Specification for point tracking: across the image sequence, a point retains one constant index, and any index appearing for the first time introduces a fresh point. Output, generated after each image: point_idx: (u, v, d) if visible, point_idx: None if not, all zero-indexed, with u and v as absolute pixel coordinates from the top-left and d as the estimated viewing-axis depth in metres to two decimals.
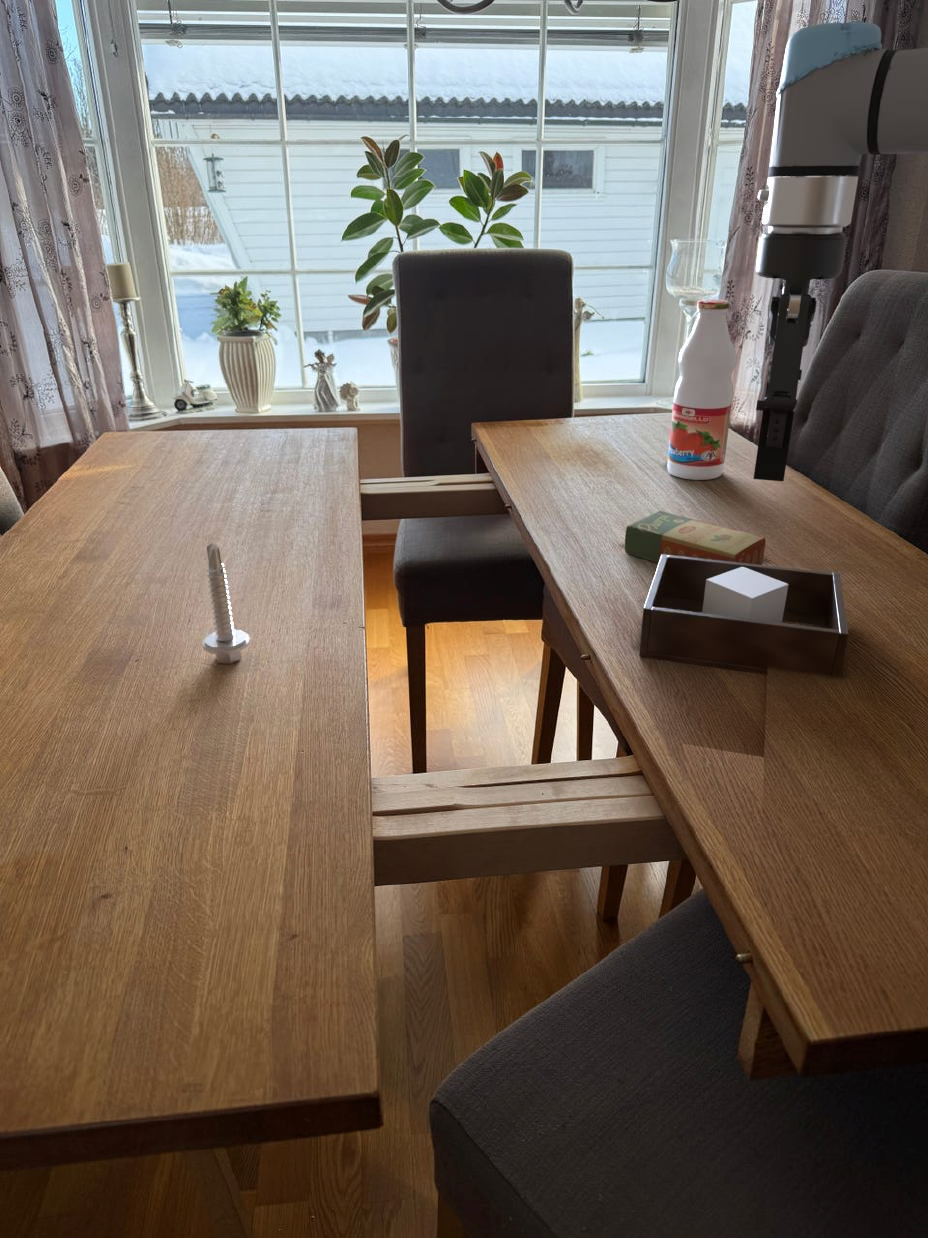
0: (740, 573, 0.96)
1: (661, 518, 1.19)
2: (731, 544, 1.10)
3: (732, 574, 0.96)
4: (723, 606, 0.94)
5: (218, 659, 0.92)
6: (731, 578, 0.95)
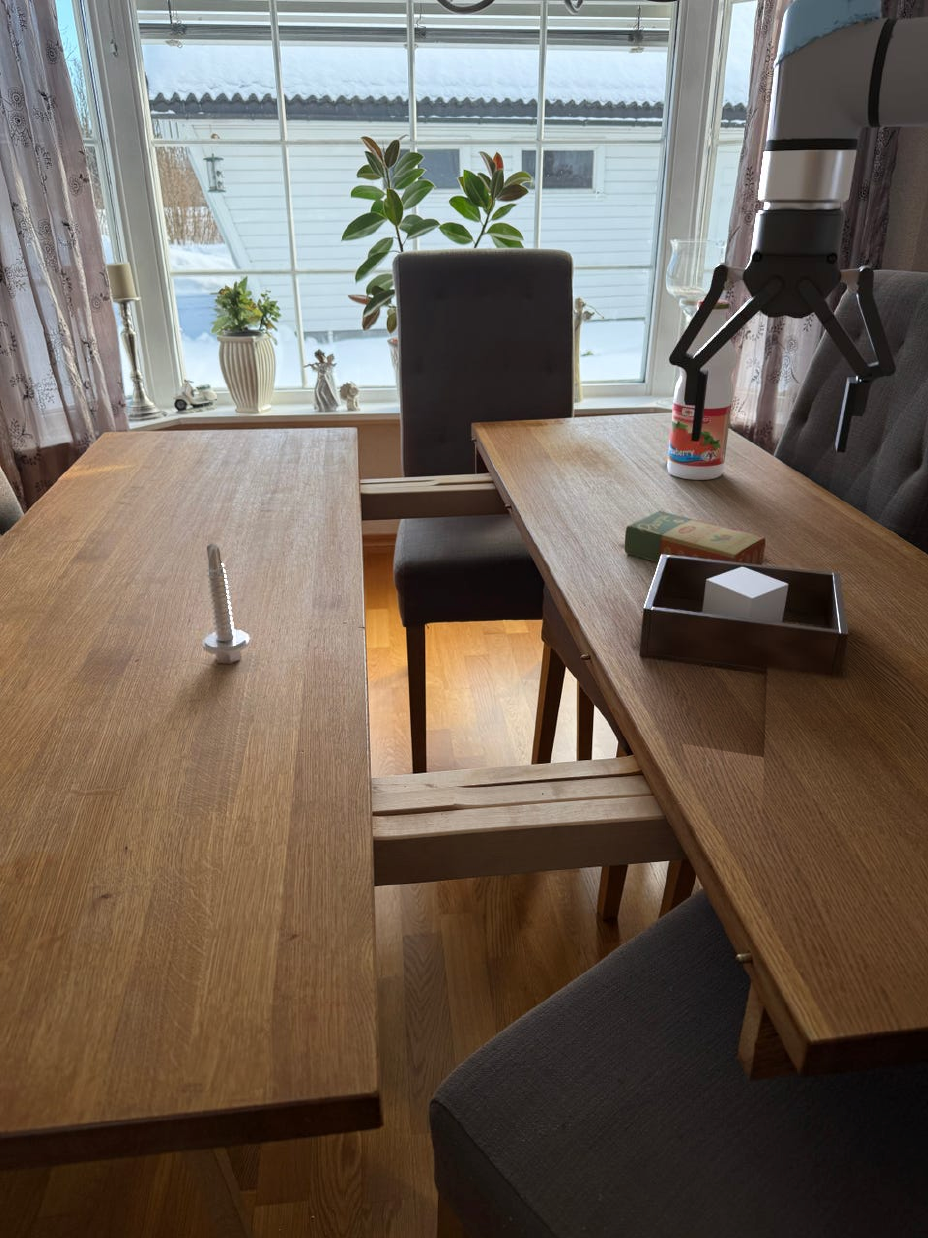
0: (740, 573, 0.96)
1: (661, 518, 1.19)
2: (731, 544, 1.10)
3: (732, 574, 0.96)
4: (723, 606, 0.94)
5: (218, 659, 0.92)
6: (731, 578, 0.95)
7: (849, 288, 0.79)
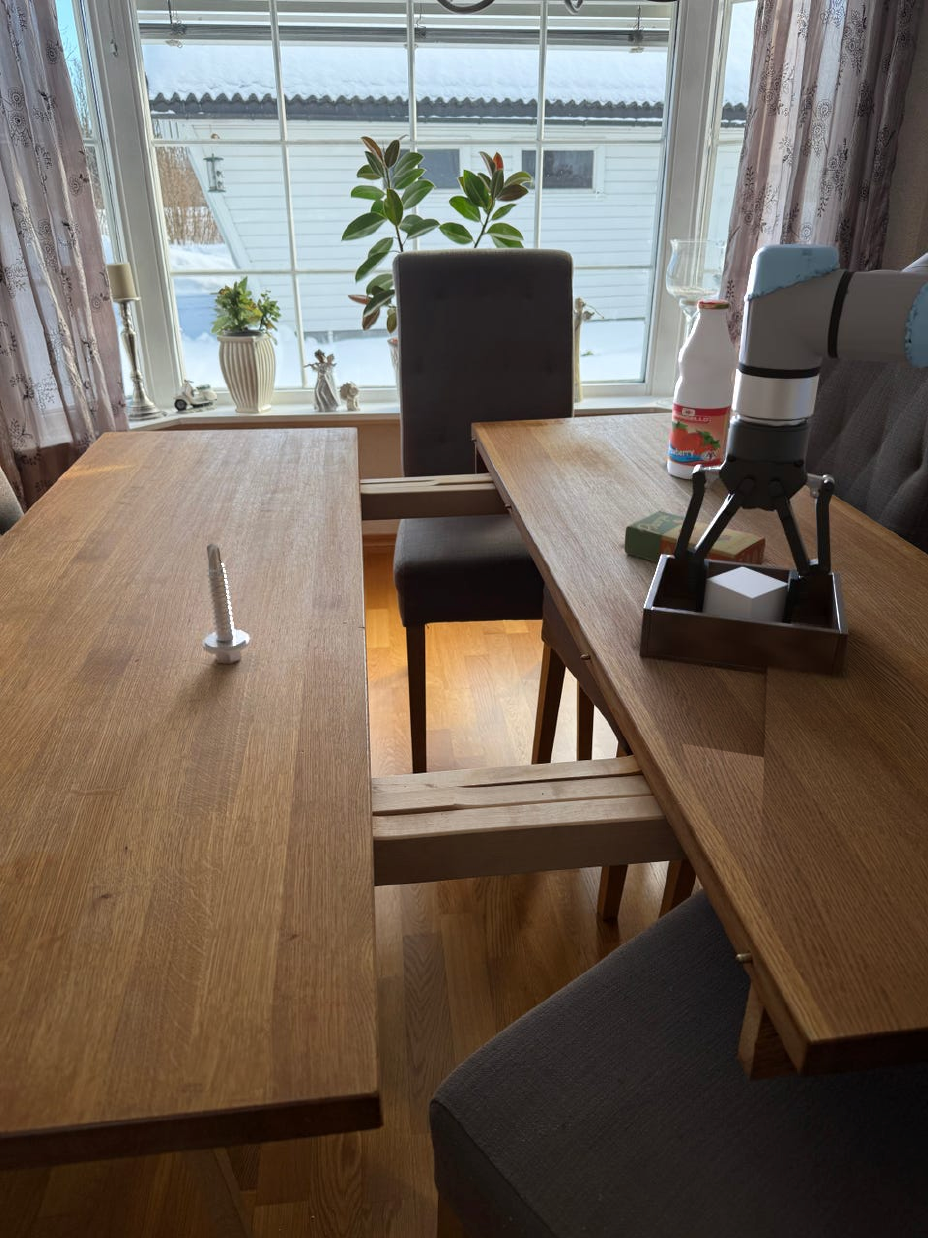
0: (741, 573, 0.96)
1: (661, 518, 1.19)
2: (731, 544, 1.10)
3: (732, 574, 0.96)
4: (723, 606, 0.94)
5: (218, 659, 0.92)
6: (731, 578, 0.95)
7: (811, 492, 0.88)
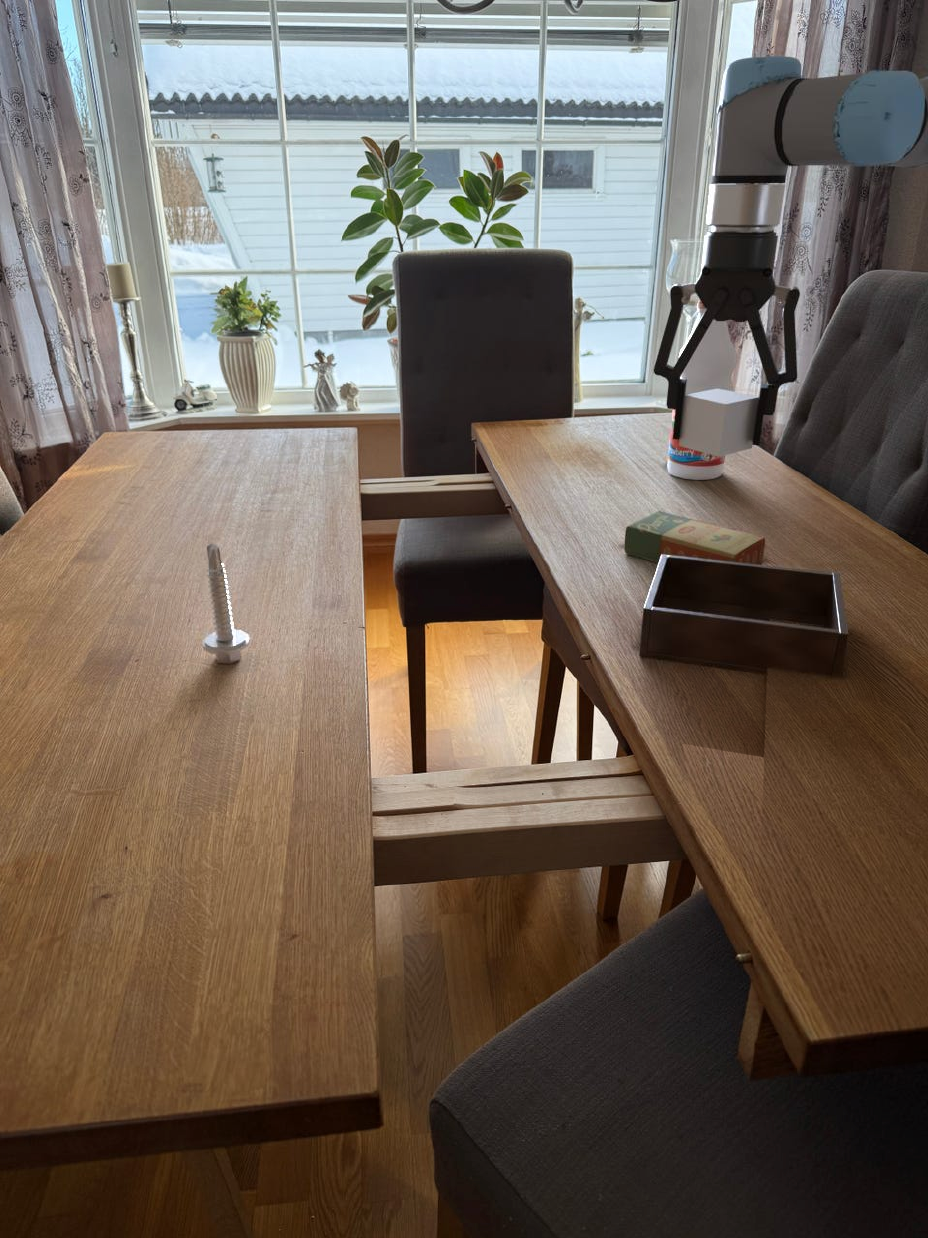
0: (716, 391, 1.04)
1: (661, 518, 1.19)
2: (731, 544, 1.10)
3: (708, 392, 1.04)
4: (699, 418, 1.02)
5: (218, 659, 0.92)
6: (706, 394, 1.03)
7: (778, 302, 0.96)
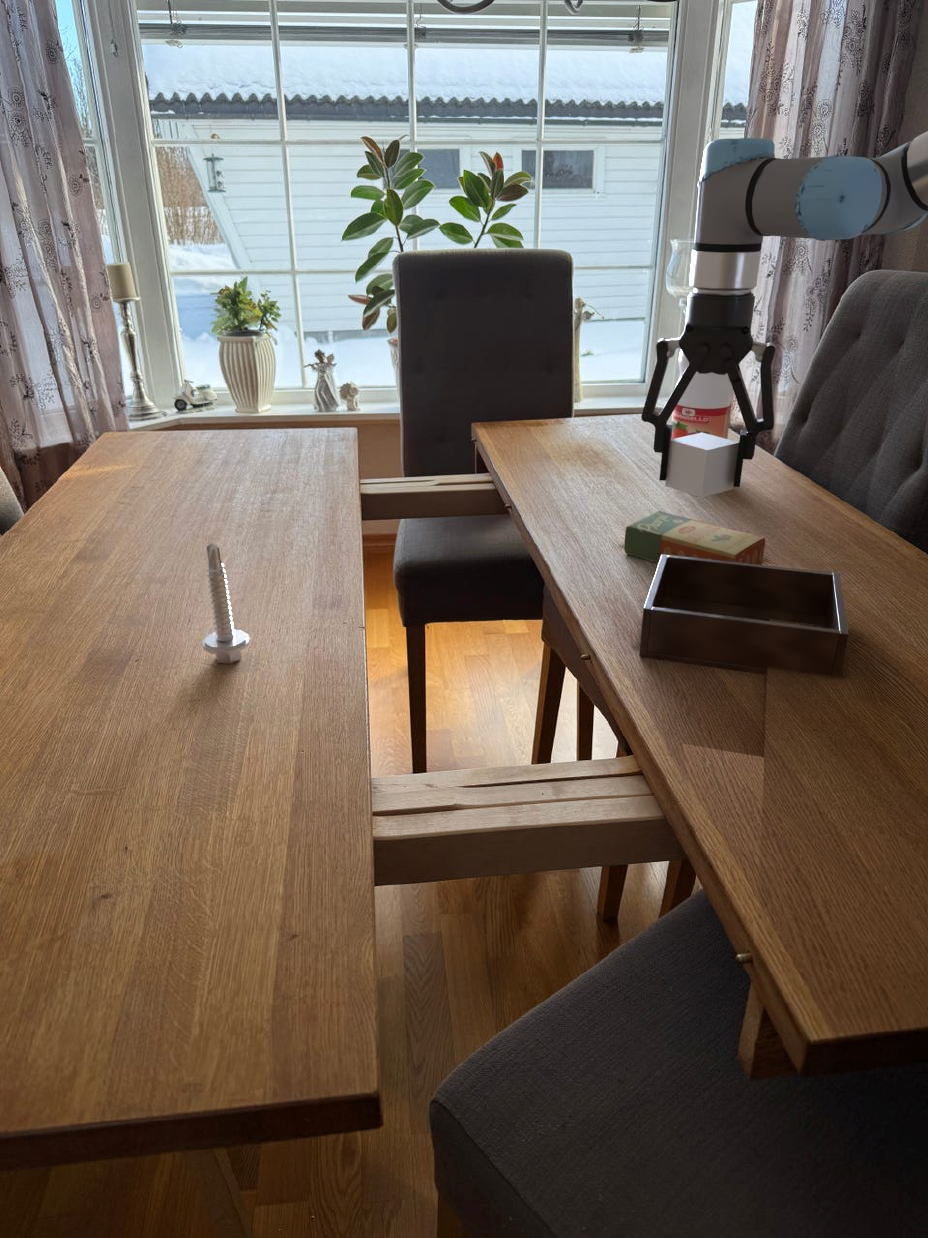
0: (699, 436, 1.12)
1: (661, 518, 1.19)
2: (731, 544, 1.10)
3: (692, 436, 1.11)
4: (683, 461, 1.09)
5: (218, 659, 0.92)
6: (691, 439, 1.10)
7: (756, 357, 1.03)
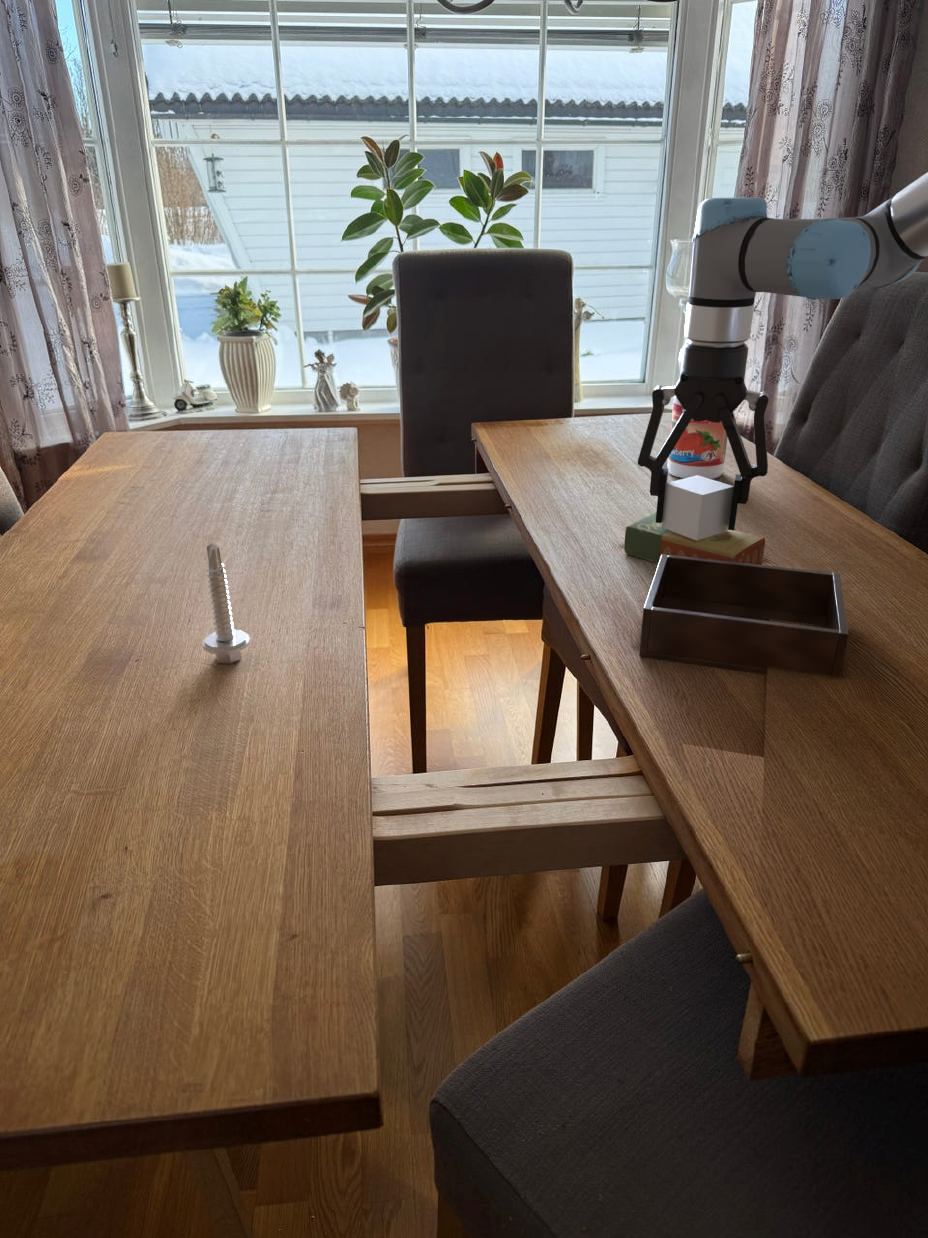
0: (695, 479, 1.14)
1: None
2: (731, 544, 1.10)
3: (688, 480, 1.14)
4: (679, 505, 1.12)
5: (218, 659, 0.92)
6: (686, 482, 1.13)
7: (749, 405, 1.06)
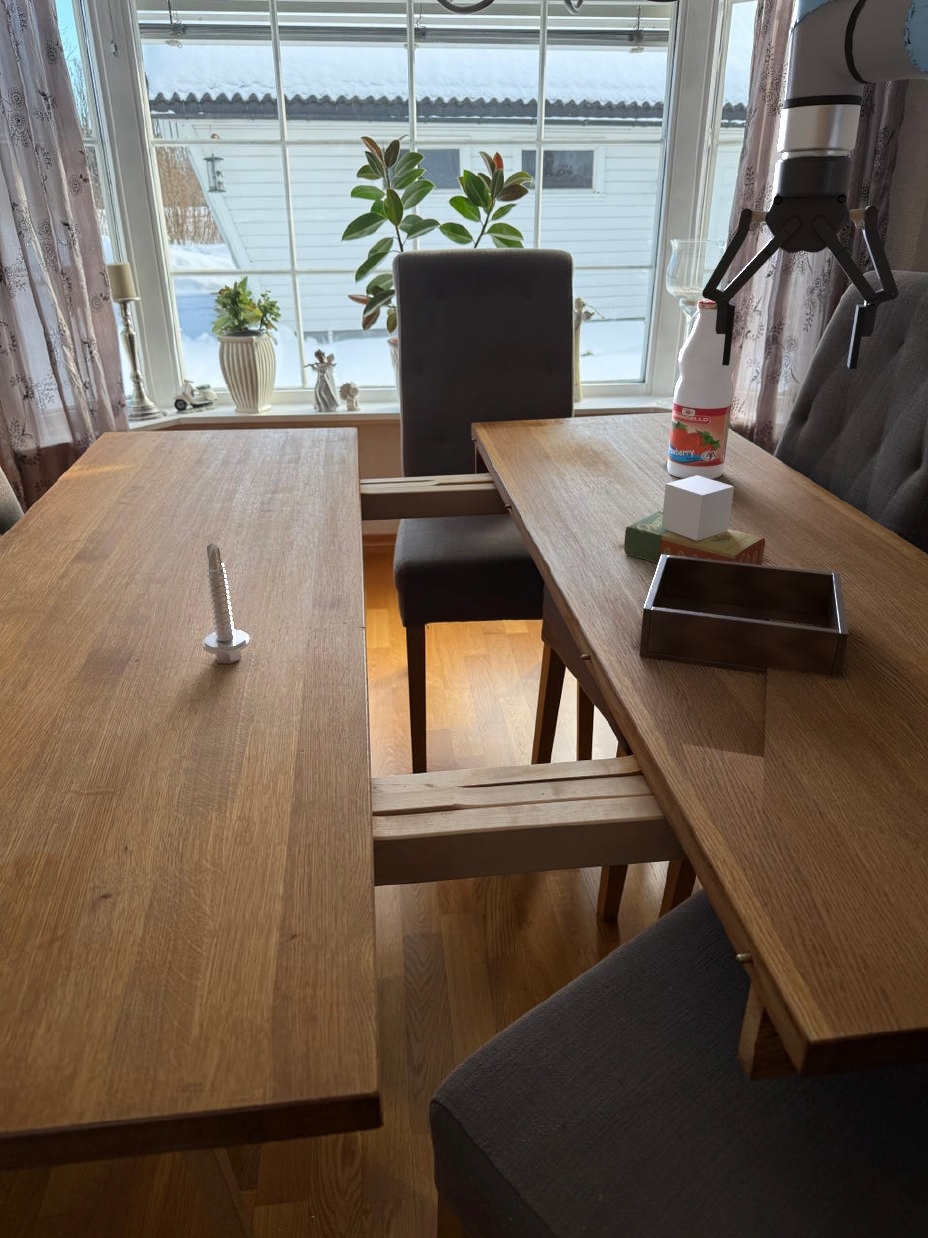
0: (695, 479, 1.14)
1: (660, 518, 1.19)
2: (731, 544, 1.10)
3: (688, 480, 1.14)
4: (679, 505, 1.12)
5: (218, 659, 0.92)
6: (686, 483, 1.13)
7: (857, 224, 0.93)
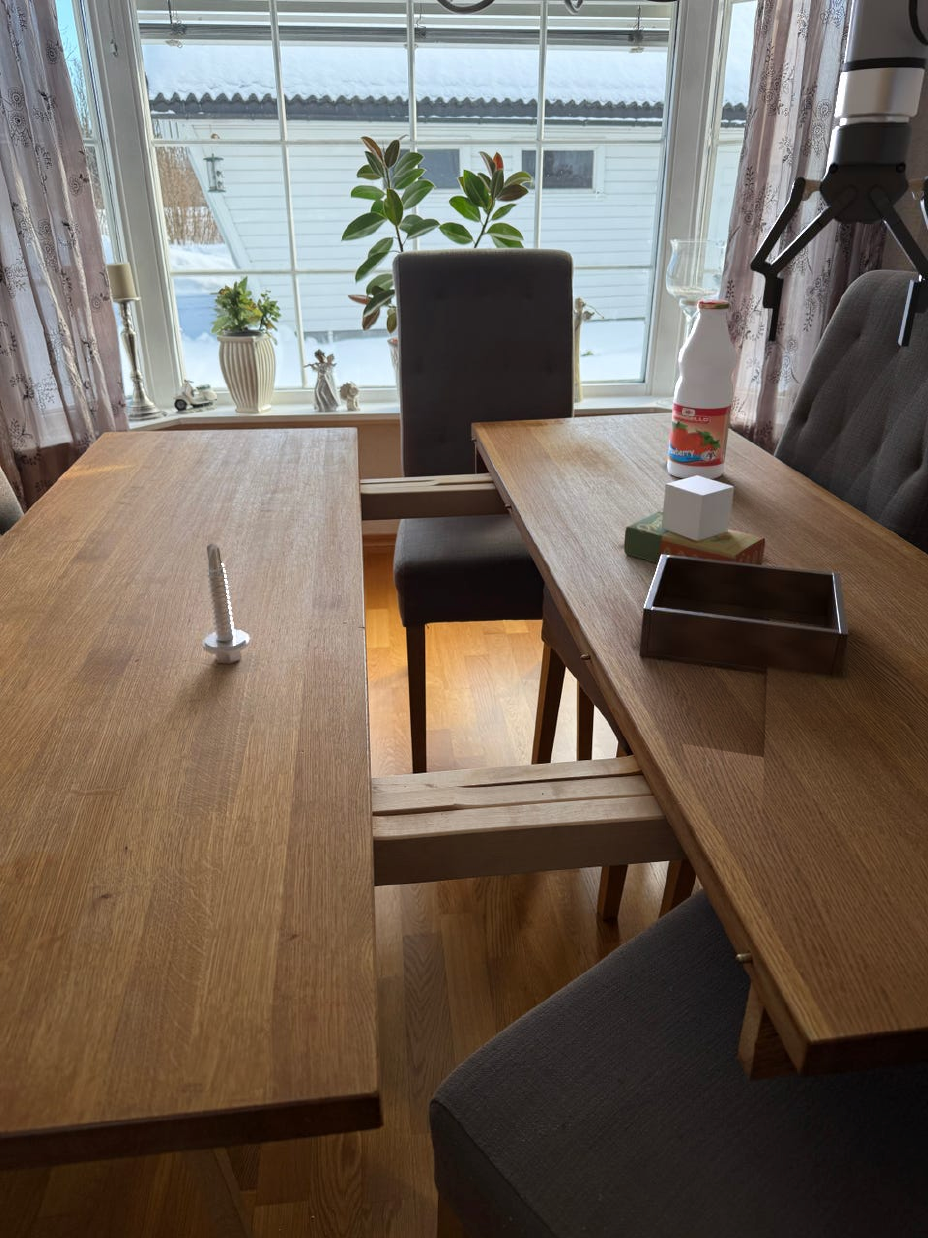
0: (695, 479, 1.14)
1: (660, 519, 1.19)
2: (731, 544, 1.10)
3: (688, 480, 1.14)
4: (679, 505, 1.12)
5: (218, 659, 0.92)
6: (686, 483, 1.13)
7: (915, 195, 0.90)
